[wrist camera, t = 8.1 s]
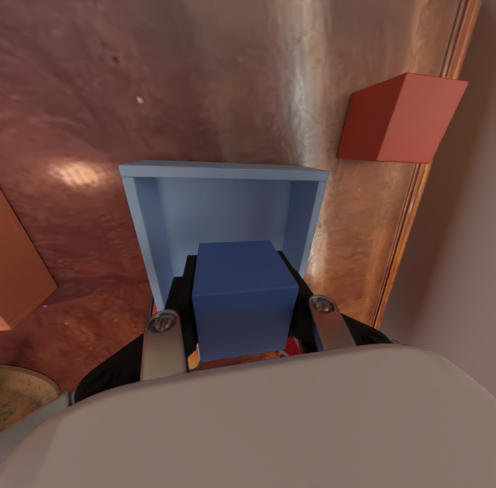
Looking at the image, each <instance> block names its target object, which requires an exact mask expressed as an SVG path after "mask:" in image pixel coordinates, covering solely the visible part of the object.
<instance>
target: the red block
mask: <svg viewBox="0 0 496 488" xmlns="http://www.w3.org/2000/svg"><path fill="white" fill-rule="evenodd" d="M467 85H468V82H467V81H460V80H454V79H448V78H441V77H434V76H428V75H421V74H414V73H408V72H407V73H404V74H402V75H399V76H396V77H394V78H391V79H389V80H386V81H383V82H381V83H378V84H376V85H373V86H370V87H368V88H365V89H363V90H360V91H357V92H355V93H353V94H352V97H351V101H350V105H349V109H348V113H347V117H346V121H345V125H344V129H343V133H342V137H341V141H340V145H339V149H338V153H337V158H344V159H356V160H367V161H382V162H403V163H425V164H428V163H430V162H431V160H432V158H433V156H434V154H435V152H436V150H437V147H438V145H439V143H440V141H441V139H442V137H443V135H444V133H445V131H446V129H447V126H448V124H449V122H450V120H451V118H452V116H453V114H454V112H455V110H456V108H457V105H458V103H459V101H460V99H461V97H462V95H463V93H464V91H465V89H466V87H467Z"/></svg>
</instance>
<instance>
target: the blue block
mask: <svg viewBox="0 0 496 488" xmlns="http://www.w3.org/2000/svg"><path fill="white" fill-rule="evenodd" d="M298 289H299V286H298V284H297V282H296V281H295V279H294V278H293V276H292V274H291V273H290V271H289V270H288V268H287V266H286V265H285V263H284V262H283V260H282V258H281V257H280V255H279V254H278V252H277V250H276V249H275V247H274V246H273V244H272V242H271V241H270V240H266V241H240V242H214V243H199V247H198V255H197V262H196V269H195V276H194V283H193V290H192V302H193V309H194V317H195V324H196V332H197V339H198V346H199V354H200V360H201V362H205V361H211V360H218V359H224V358H231V357H238V356H244V355H251V354H257V353H264V352H271V351H277V350H284V349H285V346H286V341H287V337H288V333H289V328H290V324H291V320H292V315H293V311H294V307H295V302H296V298H297V294H298Z"/></svg>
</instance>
